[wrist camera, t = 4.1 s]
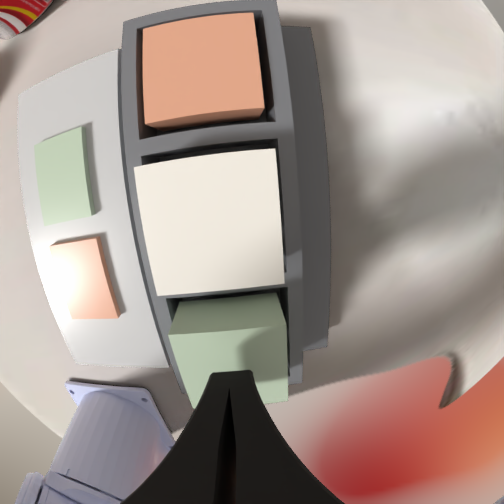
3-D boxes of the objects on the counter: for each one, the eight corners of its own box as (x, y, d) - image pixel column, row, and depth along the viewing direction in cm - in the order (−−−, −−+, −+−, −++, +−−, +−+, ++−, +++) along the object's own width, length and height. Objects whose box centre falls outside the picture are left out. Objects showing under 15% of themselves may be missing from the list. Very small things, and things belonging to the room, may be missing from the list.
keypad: (320, 332, 16) (340, 375, 12) (84, 347, 16) (60, 383, 12) (303, 38, 11) (325, 3, 7) (34, 97, 10) (-7, 89, 6)
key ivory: (274, 257, 11) (284, 283, 8) (172, 268, 11) (157, 295, 8) (265, 152, 9) (275, 148, 7) (156, 166, 9) (133, 167, 7)
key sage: (280, 365, 12) (288, 401, 10) (197, 372, 12) (193, 408, 10) (276, 292, 11) (286, 324, 9) (179, 301, 11) (168, 334, 9)
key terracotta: (258, 119, 10) (264, 107, 8) (162, 131, 10) (144, 124, 8) (249, 38, 9) (253, 12, 7) (158, 50, 9) (143, 28, 7)
